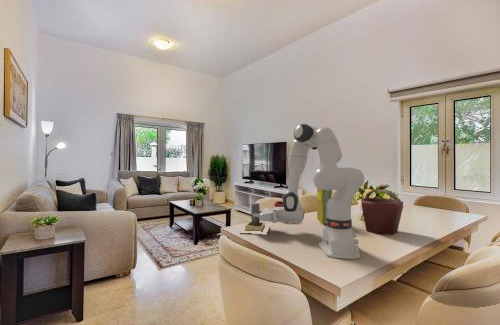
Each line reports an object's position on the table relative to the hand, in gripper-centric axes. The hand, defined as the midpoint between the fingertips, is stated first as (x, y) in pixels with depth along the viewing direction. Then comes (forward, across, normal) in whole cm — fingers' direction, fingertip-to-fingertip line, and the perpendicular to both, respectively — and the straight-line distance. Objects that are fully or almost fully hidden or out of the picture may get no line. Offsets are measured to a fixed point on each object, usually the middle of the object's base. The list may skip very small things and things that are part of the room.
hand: (254, 213), depth 152 cm
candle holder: (-1, 0, +10) cm, 10 cm away
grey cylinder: (-1, 0, +8) cm, 8 cm away
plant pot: (-16, -35, +11) cm, 40 cm away
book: (-44, -31, +11) cm, 55 cm away
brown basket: (-75, -13, +11) cm, 77 cm away
